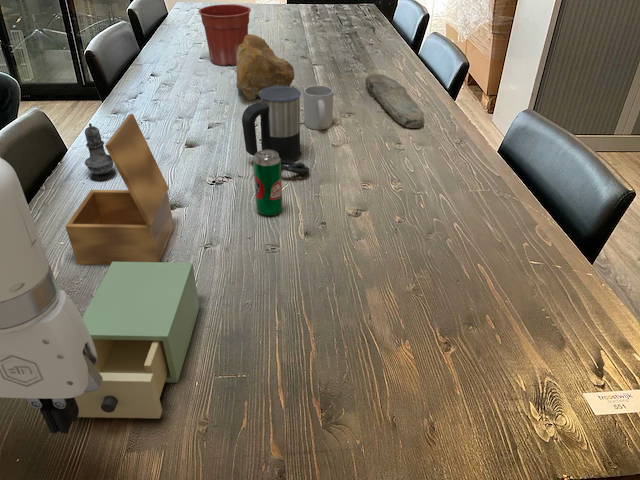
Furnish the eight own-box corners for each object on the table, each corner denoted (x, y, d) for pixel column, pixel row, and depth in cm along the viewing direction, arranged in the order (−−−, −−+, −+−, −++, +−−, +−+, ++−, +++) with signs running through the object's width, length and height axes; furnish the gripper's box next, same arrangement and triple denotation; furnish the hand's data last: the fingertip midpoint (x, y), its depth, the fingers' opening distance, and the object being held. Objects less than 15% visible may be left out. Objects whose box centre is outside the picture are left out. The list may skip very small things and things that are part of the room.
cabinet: (177, 382, 71) (167, 336, 66) (89, 381, 71) (72, 334, 66) (199, 306, 83) (192, 262, 78) (124, 305, 83) (112, 261, 78)
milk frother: (279, 142, 130) (276, 82, 121) (333, 160, 122) (334, 97, 114) (239, 165, 120) (233, 101, 112) (295, 186, 113) (293, 119, 104)
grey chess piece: (83, 180, 114) (68, 127, 107) (97, 168, 119) (83, 116, 112) (109, 183, 113) (96, 130, 106) (122, 170, 118) (110, 118, 111)
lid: (104, 145, 78) (108, 144, 78) (128, 114, 87) (132, 113, 87) (147, 225, 86) (151, 225, 86) (165, 189, 96) (169, 188, 95)
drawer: (157, 427, 64) (147, 390, 60) (70, 425, 64) (54, 388, 60) (184, 337, 76) (177, 301, 72) (111, 336, 76) (100, 300, 72)
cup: (329, 118, 142) (330, 85, 137) (336, 134, 134) (337, 99, 129) (302, 119, 141) (302, 86, 136) (307, 135, 133) (307, 101, 128)
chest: (77, 264, 91) (64, 226, 86) (101, 226, 100) (91, 189, 96) (157, 265, 91) (149, 227, 86) (174, 227, 100) (167, 190, 96)
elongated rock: (395, 136, 136) (432, 134, 139) (398, 116, 133) (436, 115, 135) (357, 82, 163) (388, 81, 165) (359, 64, 160) (390, 64, 162)
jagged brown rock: (292, 110, 148) (296, 54, 140) (231, 105, 147) (231, 49, 139) (293, 83, 168) (296, 33, 159) (239, 79, 166) (239, 28, 158)
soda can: (276, 219, 103) (273, 163, 96) (252, 214, 104) (247, 158, 97) (286, 206, 106) (285, 151, 99) (263, 201, 108) (260, 146, 101)
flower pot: (206, 53, 187) (200, 4, 178) (253, 52, 188) (250, 3, 179) (202, 69, 174) (196, 16, 164) (254, 67, 175) (251, 15, 166)
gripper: (-103, 321, 45) (-23, 451, 55) (77, 323, 44) (123, 454, 55) (-51, 265, 51) (13, 392, 61) (108, 267, 51) (144, 394, 61)
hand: (65, 421), depth 58 cm, fingers closed
